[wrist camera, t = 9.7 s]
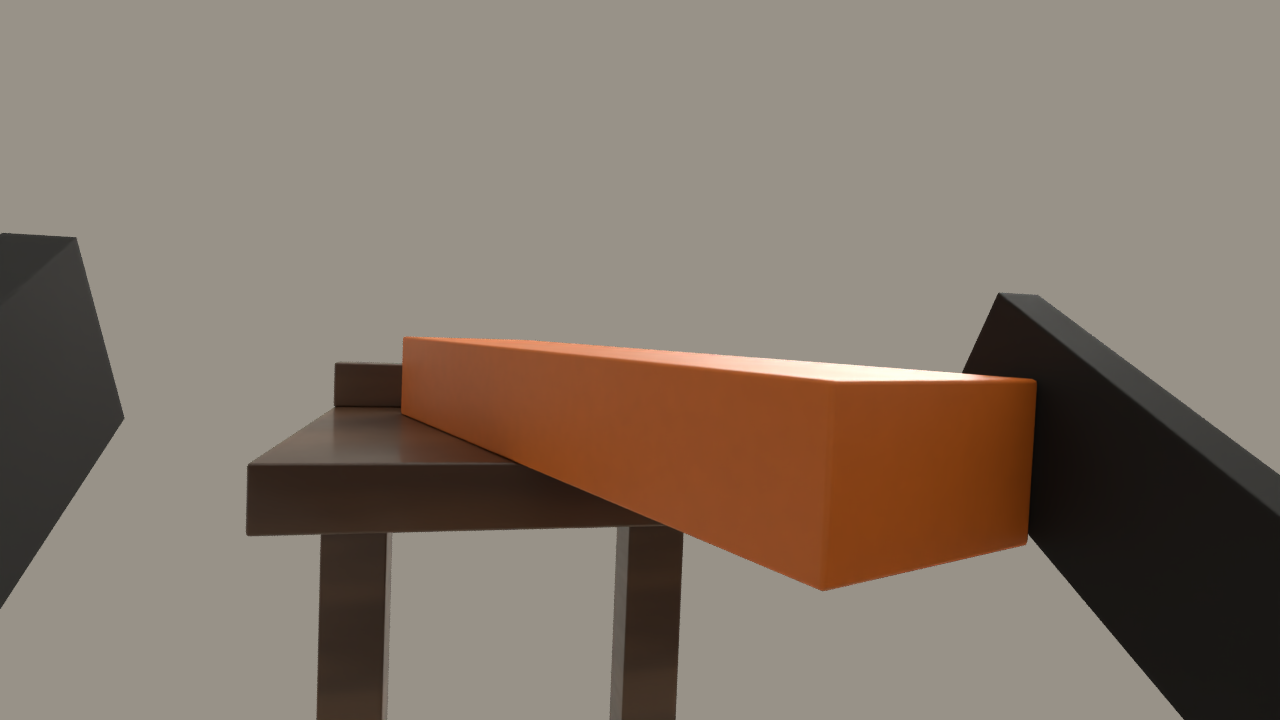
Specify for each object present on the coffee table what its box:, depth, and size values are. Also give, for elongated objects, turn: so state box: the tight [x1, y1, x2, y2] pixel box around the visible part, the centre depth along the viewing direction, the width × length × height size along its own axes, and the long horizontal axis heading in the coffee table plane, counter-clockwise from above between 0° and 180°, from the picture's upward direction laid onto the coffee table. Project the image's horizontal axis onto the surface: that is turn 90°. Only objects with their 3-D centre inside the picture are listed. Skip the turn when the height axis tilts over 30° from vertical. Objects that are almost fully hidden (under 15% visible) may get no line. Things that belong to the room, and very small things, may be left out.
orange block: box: [401, 337, 1037, 591], centre depth 17 cm, size 18×4×2 cm, turn 33°
